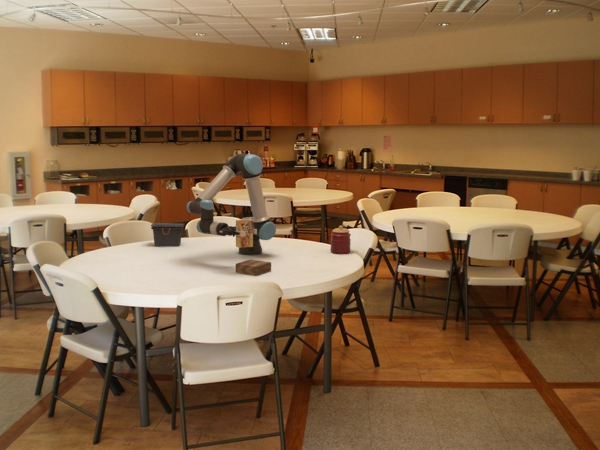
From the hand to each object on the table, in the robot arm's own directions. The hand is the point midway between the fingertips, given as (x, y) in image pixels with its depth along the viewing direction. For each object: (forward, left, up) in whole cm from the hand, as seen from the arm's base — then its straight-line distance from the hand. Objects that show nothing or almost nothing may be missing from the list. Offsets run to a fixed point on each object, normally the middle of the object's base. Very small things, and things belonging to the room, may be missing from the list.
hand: (250, 232), depth 346 cm
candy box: (-4, 0, -9) cm, 10 cm away
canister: (+14, +77, -22) cm, 81 cm away
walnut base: (+1, +1, -22) cm, 22 cm away
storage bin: (-93, +30, -22) cm, 100 cm away
